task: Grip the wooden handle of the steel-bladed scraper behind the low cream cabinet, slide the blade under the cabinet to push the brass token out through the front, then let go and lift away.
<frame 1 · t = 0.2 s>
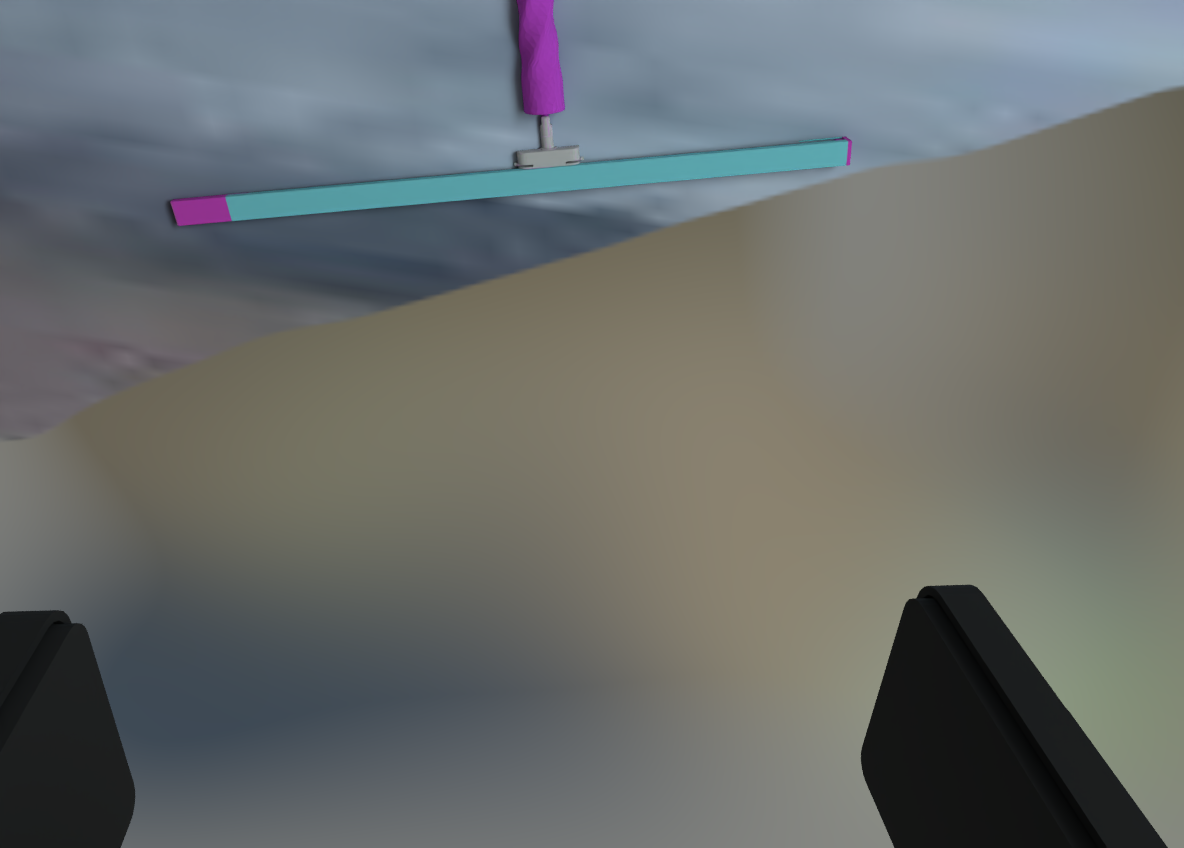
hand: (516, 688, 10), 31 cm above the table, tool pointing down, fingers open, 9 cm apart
squeegee: (504, 63, 37), on the table
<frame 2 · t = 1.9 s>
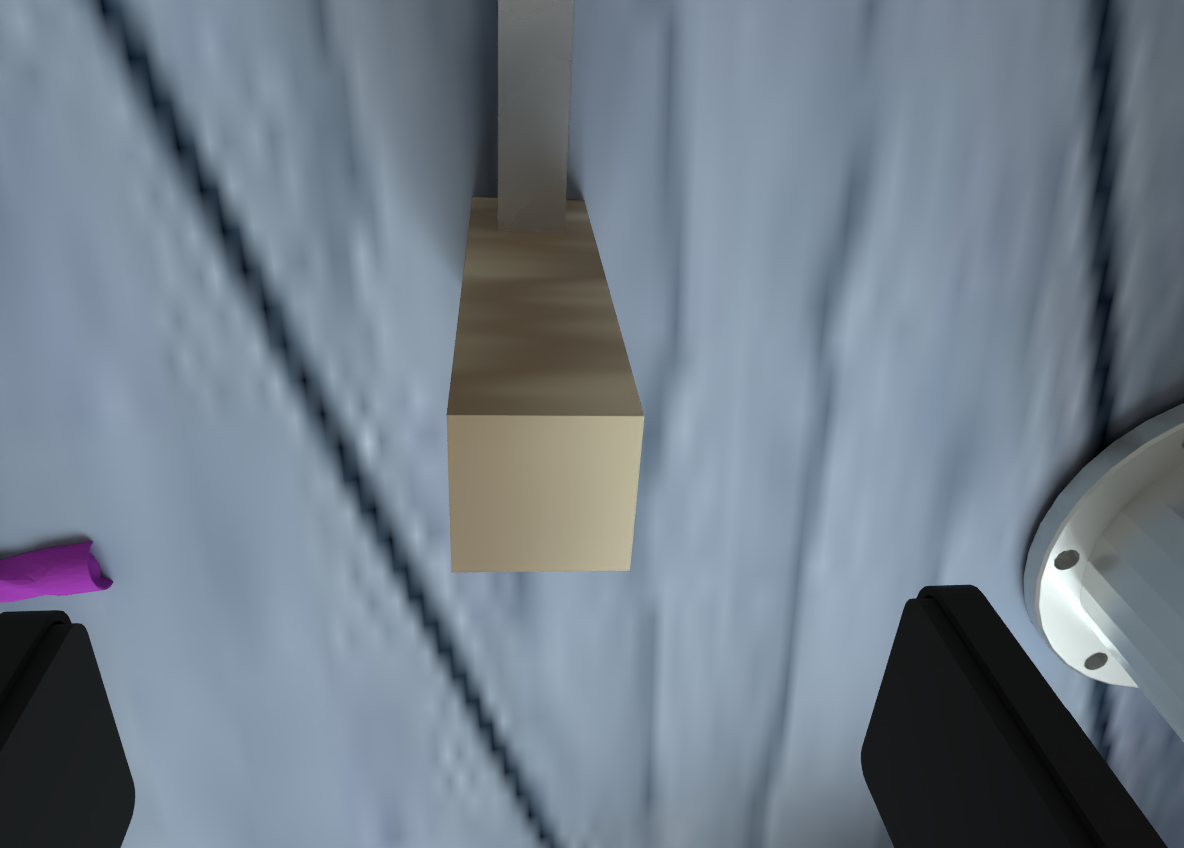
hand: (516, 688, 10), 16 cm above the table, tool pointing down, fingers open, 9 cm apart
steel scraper: (527, 252, 25), on the table
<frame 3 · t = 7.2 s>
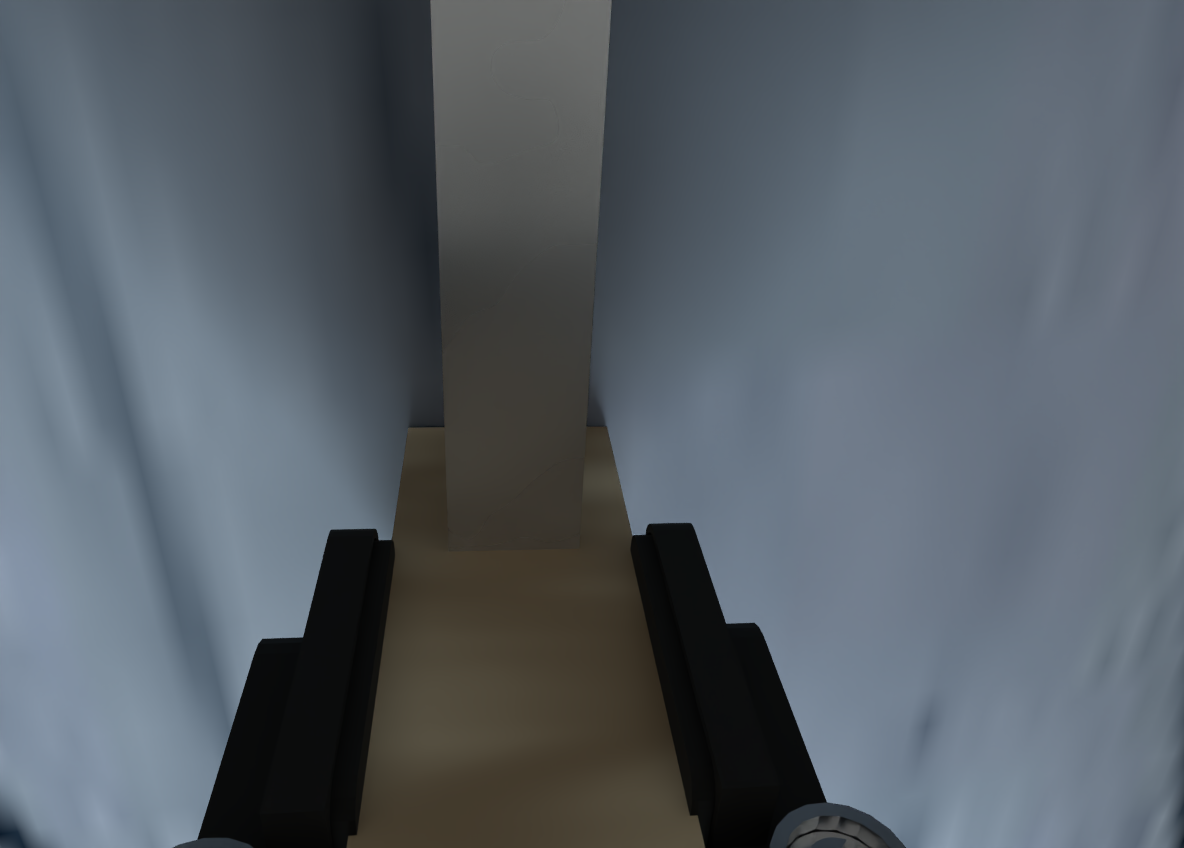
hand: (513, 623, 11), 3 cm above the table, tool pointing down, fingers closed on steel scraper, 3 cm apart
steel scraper: (508, 507, 14), on the table, touching gripper
when the fingers open (3 cm above the table, at t = 9.7 s): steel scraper stays where it is, on the table.
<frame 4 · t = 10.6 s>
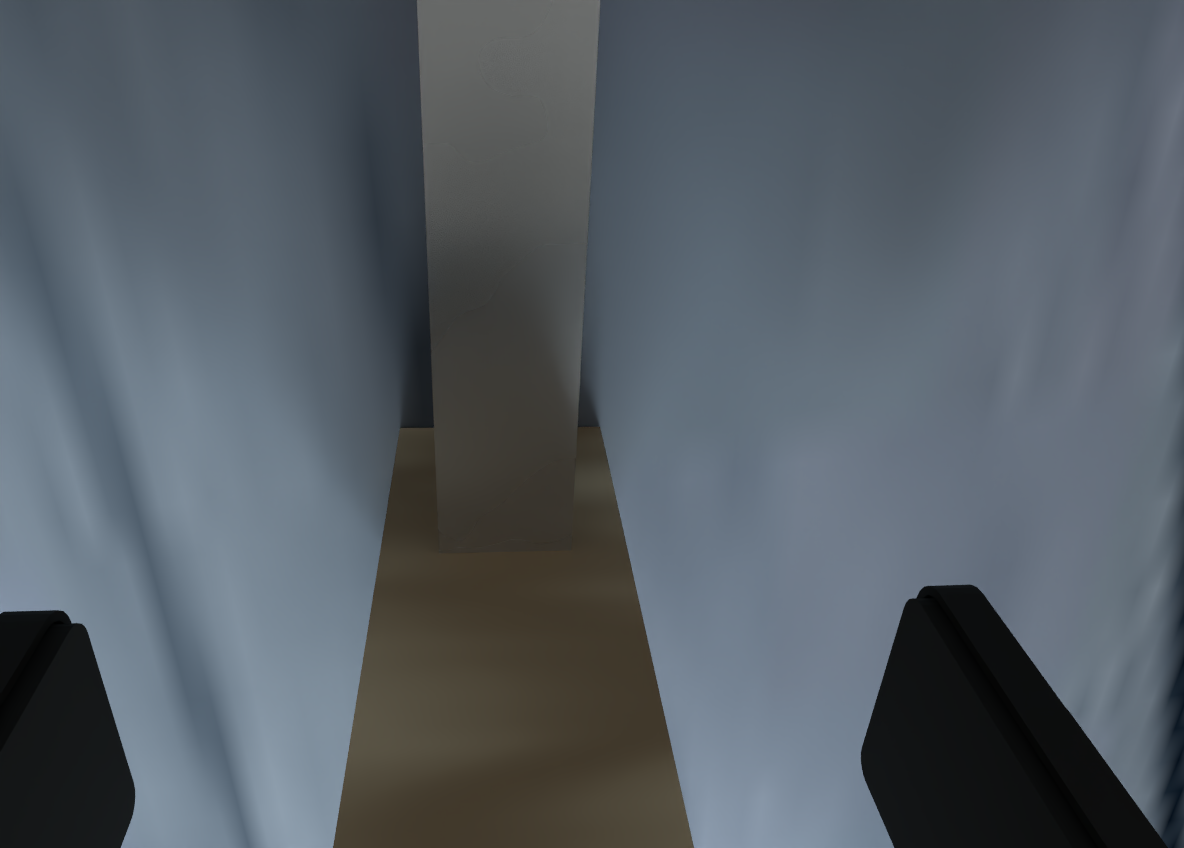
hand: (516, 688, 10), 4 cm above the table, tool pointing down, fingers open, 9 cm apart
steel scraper: (501, 508, 14), on the table
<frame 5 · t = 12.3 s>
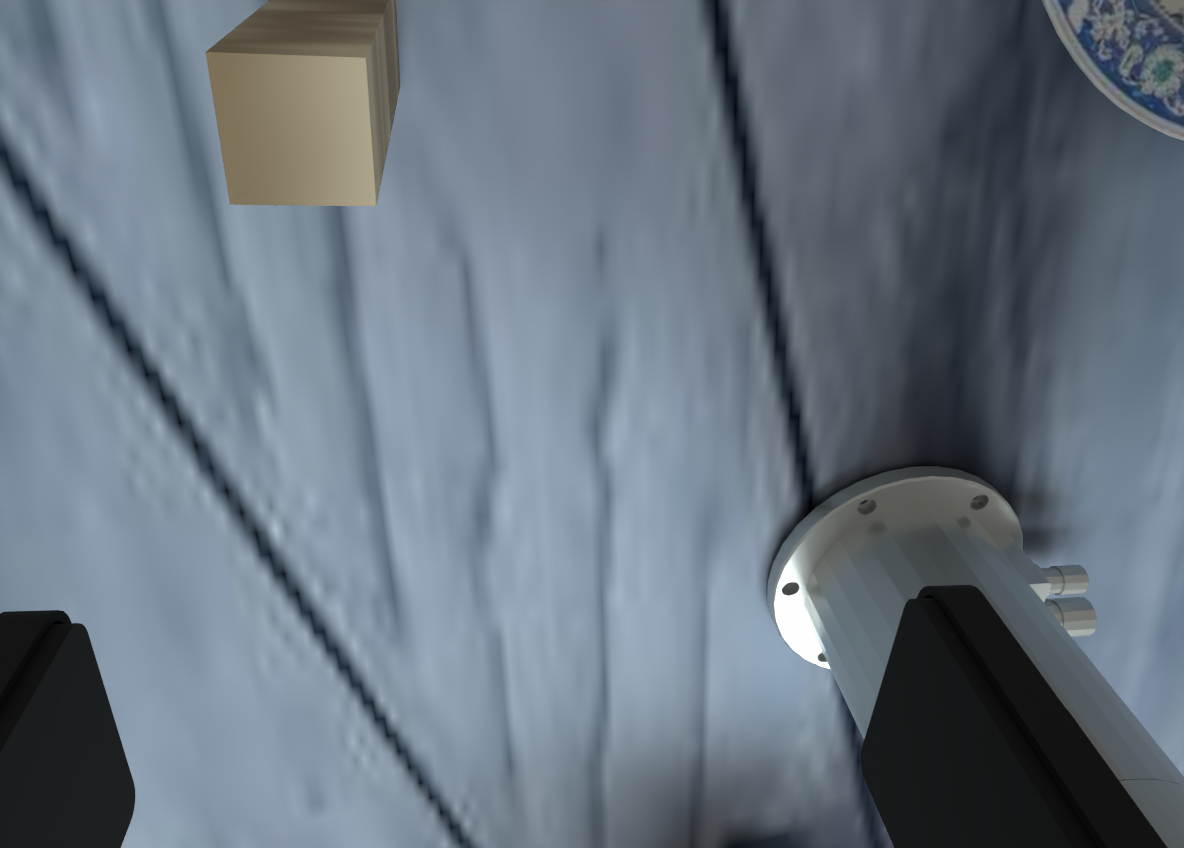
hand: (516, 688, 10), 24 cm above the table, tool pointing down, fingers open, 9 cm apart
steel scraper: (349, 35, 28), on the table
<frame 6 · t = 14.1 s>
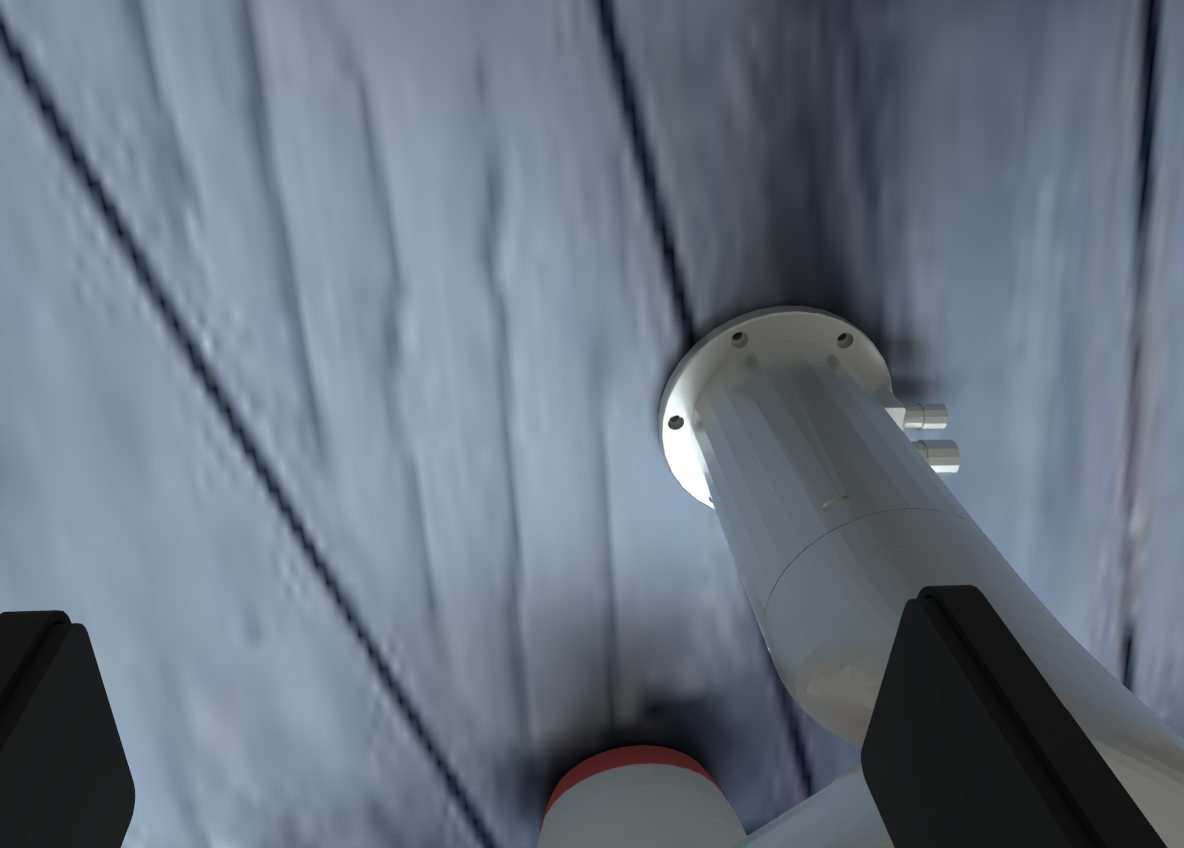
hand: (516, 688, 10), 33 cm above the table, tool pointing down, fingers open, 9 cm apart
citrus juicer: (620, 799, 64), on the table
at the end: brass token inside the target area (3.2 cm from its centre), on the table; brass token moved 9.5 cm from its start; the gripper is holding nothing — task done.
